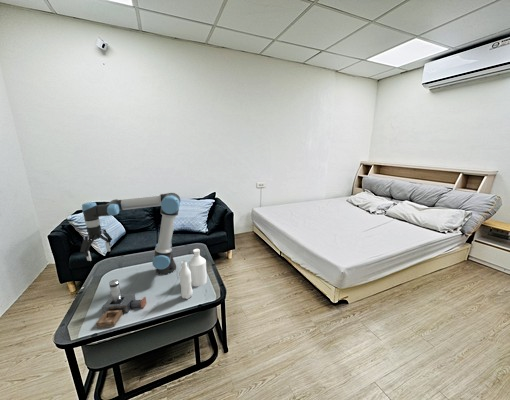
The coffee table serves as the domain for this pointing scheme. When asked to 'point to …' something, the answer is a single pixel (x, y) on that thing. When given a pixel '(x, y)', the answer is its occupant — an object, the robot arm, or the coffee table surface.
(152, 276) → the coffee table surface
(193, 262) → the bottle
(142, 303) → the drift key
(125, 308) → the socket block
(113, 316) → the brown square tray
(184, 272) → the water bottle
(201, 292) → the coffee table surface
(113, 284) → the peg
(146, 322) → the coffee table surface
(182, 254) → the coffee table surface
